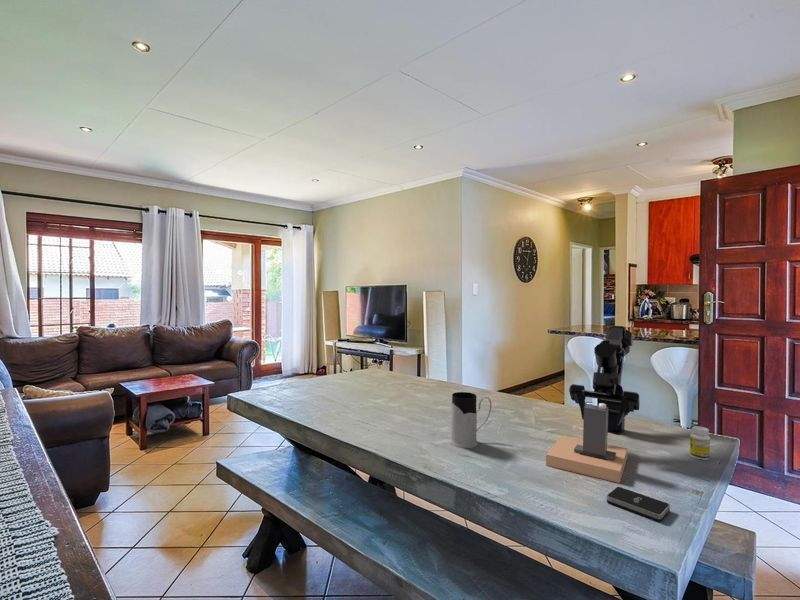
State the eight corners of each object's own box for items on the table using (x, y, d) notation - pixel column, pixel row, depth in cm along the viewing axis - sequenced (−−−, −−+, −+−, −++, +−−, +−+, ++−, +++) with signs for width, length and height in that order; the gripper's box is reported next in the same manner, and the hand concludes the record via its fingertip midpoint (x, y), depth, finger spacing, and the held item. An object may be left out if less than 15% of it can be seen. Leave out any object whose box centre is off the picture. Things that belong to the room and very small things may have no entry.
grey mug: (444, 439, 133) (445, 392, 132) (483, 434, 138) (483, 389, 137) (458, 449, 124) (458, 399, 124) (498, 443, 130) (499, 395, 129)
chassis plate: (561, 444, 129) (561, 435, 129) (627, 458, 119) (627, 448, 119) (545, 465, 114) (546, 454, 114) (619, 483, 104) (620, 471, 104)
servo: (573, 463, 116) (575, 401, 115) (576, 458, 119) (578, 398, 118) (613, 472, 110) (615, 408, 110) (615, 467, 113) (617, 404, 113)
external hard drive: (617, 494, 99) (617, 486, 99) (671, 513, 91) (671, 504, 91) (605, 504, 95) (605, 495, 94) (660, 525, 86) (661, 515, 86)
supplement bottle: (690, 452, 124) (691, 424, 124) (710, 456, 121) (711, 427, 121) (688, 457, 120) (689, 428, 120) (709, 461, 117) (710, 432, 117)
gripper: (571, 358, 130) (562, 401, 121) (640, 365, 119) (635, 413, 111) (575, 378, 136) (567, 421, 128) (641, 386, 126) (637, 433, 117)
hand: (599, 421), depth 121 cm, fingers open, 9 cm apart
